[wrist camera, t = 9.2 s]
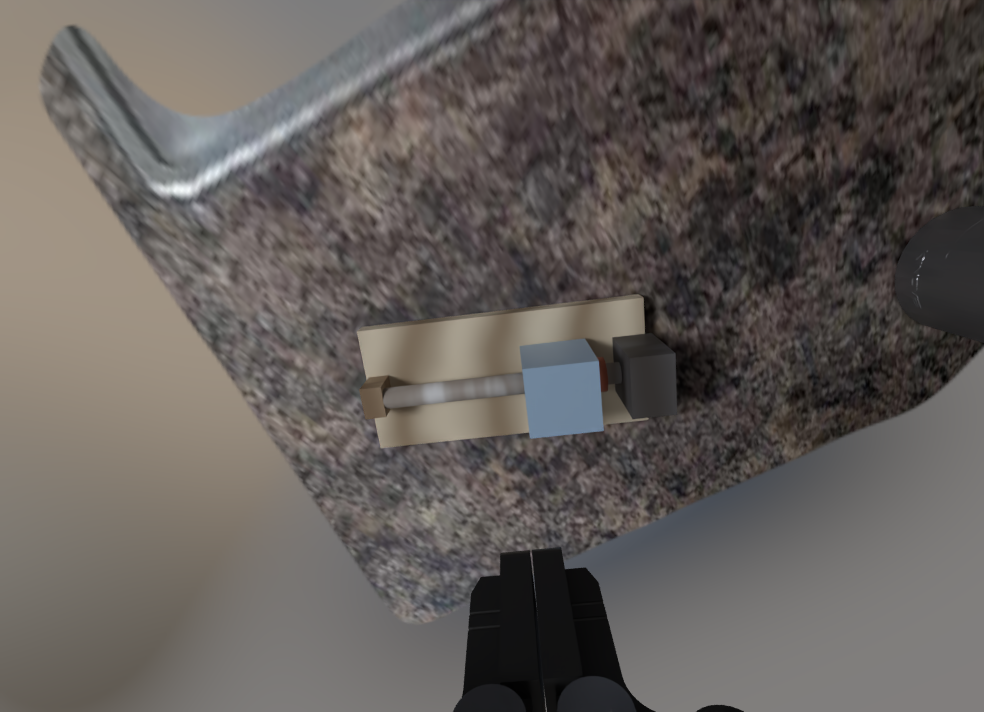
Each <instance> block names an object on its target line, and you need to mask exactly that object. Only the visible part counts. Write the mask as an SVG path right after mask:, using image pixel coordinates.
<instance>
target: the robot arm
mask: <svg viewBox="0 0 984 712" xmlns="http://www.w3.org/2000/svg"><path fill="white" fill-rule="evenodd" d="M895 291H896V295H897V299H898V301H899V303H900V305H901V307H902V309H903V310H904V311H905V312H906V313H907V315H908V316H909V317H910V318H912V319H913V320H915V321H917V322H918V323H920V324H922V325H925V326H929V327H932V328H935V329H939V330H942V331H946V332H949V333H953V334H956V335H960V336H963V337H967V338H969V339H973V340H976V341H980V342H983V343H984V206H971V207H962V208H957V209H954V210H951V211H948V212H945V213H943V214H942V215H940V216H938V217H936V218H934V219H932V220H931V221H930V222H928V223H927V224H926V225H925V226H923V227H922V228H921V229H920V230H919V231H918V232H917V233H916V234H915V235H914V236H913V237H912V238H911V240H910V241H909V243H908V244H907V246H906V247H905V249H904V250H903V252H902V255H901V257H900V259H899V262H898V264H897V269H896V274H895ZM532 556H533V568H534V579H535V590H534V582H533V573H532V565H531V557H530V550H527V551H516V552H505V553H501V554H500V575H499V576H488V577H481V578H480V580H479V581H478V583H477V585H476V586H475V588H474V590H473V591H472V593H471V602H470V616H469V631H468V639H467V651H466V663H465V676H464V688H463V695H462V698H461V699H460V700H459V702H458V703H457V705H456V707H455V708H454V711H453V712H546V709H545V698H546V707H547V712H655V711H653V710H651V709H649V708H647V707H646V706H644V705H643V704H641V703H640V702H639V701H638V700H637V699H636V698H635V697H634V696H633V695H632V694H631V693H630V691H629V690H628V688H627V687H626V685H625V683H624V680H623V677H622V674H621V670H620V666H619V662H618V658H617V654H616V650H615V646H614V642H613V638H612V634H611V630H610V626H609V622H608V619H607V614H606V611H605V607H604V604H603V599H602V595H601V591H600V587H599V583H598V581H597V580H596V579H595V578H594V577H593V576H592V575H591V573H590V572H589V571H588V570H587V569H586V568H575V569H565V568H564V562H563V556H562V550H561V547H558V548H547V549H536V550H532ZM535 591H536V598H535ZM536 603H537V607H536ZM537 615H538V616H537ZM543 683H544V684H543ZM544 691H545V696H544ZM697 712H744V711H741V710H739V709H737V708H734V707H731V706H725V705H711V706H706V707H704V708H701V709H700V710H698V711H697Z"/></svg>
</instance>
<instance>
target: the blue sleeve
mask: <svg viewBox="0 0 984 712" xmlns="http://www.w3.org/2000/svg"><path fill="white" fill-rule="evenodd" d="M519 347H520V355H521V364H522V373H523V381H524V390H525V400H526V408H527V417H528V425H529V434H530V439H531V438H540V437H550V436H560V435H569V434H579V433H588V432H598V431H604V429H603V415H602V400H601V385H600V371H599V360H598V359H597V357H596V355H595V354H594V352H593V351H592V349H591V347H590V346H589V344H588V343H587V341H586V339H576V340H567V341H558V342H550V343H541V344H532V345H524V346H519Z"/></svg>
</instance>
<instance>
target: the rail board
mask: <svg viewBox="0 0 984 712" xmlns="http://www.w3.org/2000/svg"><path fill="white" fill-rule="evenodd" d="M357 334H358V339H359V344H360V349H361V354H362V359H363V364H364V369H365V373H366V378H367V380H366V382H365V383H364V384H363V386H362V387H361V388H360V389H359V391H360V395H361V400H362V405H363V410H364V414H365V419H373V418H375V422H376V427H377V432H378V437H379V442H380V446H381V448H386V447H395V446H405V445H414V444H424V443H433V442H443V441H452V440H462V439H471V438H481V437H490V436H500V435H509V434H519V433H528V432H529V425H528V417H527V408H526V400H525V390H524V381H523V373H522V364H521V355H520V347H519V346H524V345H532V344H541V343H550V342H558V341H567V340H576V339H586V341H587V343H588V344H589V346H590V347H591V349H592V351H593V352H594V354H595V355H596V357H597V359H598V360H599V371H600V385H601V400H602V415H603V425H604V424H614V423H623V422H633V421H642V420H648V418H650V417H659V416H669V415H677V395H676V353H675V352H673V351H672V350H671V349H670V348H669V347H668V346H666V345H665V344H664V343H663V342H662V341H661V340H659V339H658V338H657V337H656V336H655V335H653V334H652V333H646V334H645V323H644V298H643V297H642V296H640V295H639V294H637V295H628V296H620V297H611V298H603V299H595V300H586V301H578V302H569V303H561V304H552V305H544V306H536V307H527V308H519V309H510V310H502V311H494V312H485V313H477V314H468V315H460V316H451V317H443V318H435V319H426V320H418V321H409V322H401V323H393V324H384V325H376V326H367V327H362V328H360V329H359V330H358V331H357Z"/></svg>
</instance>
